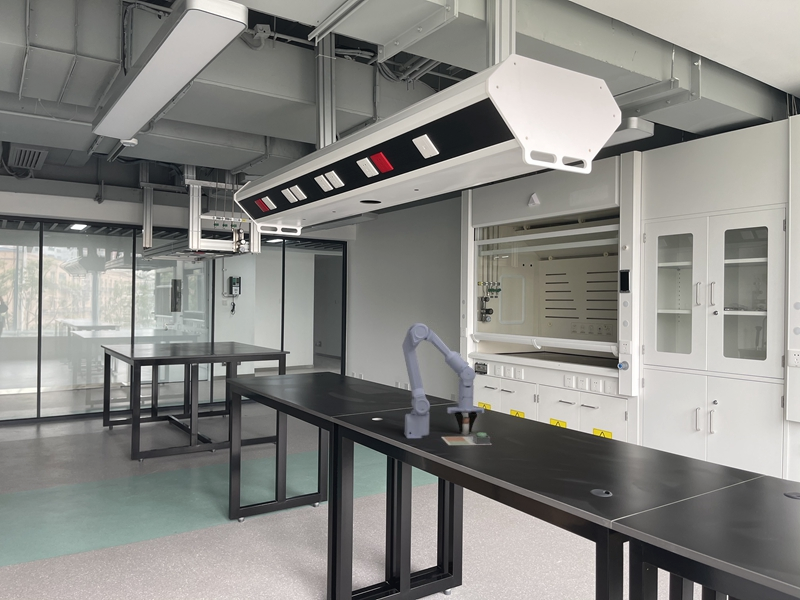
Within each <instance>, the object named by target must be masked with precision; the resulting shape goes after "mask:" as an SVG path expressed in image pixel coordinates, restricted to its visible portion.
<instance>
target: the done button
mask: <svg viewBox="0 0 800 600" xmlns="http://www.w3.org/2000/svg"><path fill="white" fill-rule="evenodd" d="M476 435H477V437H486V435H487V432H481V431H479V432H477V433H476Z"/></svg>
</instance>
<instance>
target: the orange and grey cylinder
mask: <svg viewBox="0 0 800 600" xmlns="http://www.w3.org/2000/svg"><path fill="white" fill-rule="evenodd" d="M469 423H470V418H469V417H468V416H463V422H462V432H460V434H461V435H469V434H470V432H469Z"/></svg>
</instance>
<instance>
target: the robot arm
mask: <svg viewBox="0 0 800 600" xmlns="http://www.w3.org/2000/svg"><path fill="white" fill-rule="evenodd" d="M422 341H426V342H429V343H431V344H432V345H433V346H434V347H435V348H436V349H437V350H438V351H439V352H440V353H441V354H442V355H443V356H444V362H445V363H446V364H447V365H448V366H449V367H450V368H451V370H453V372H454V373H456V374H457V377H458V378H459V379H458V380H459V383H458V406H455V407H454V406H452V407H447V408H446V413H447V414H454V416H455V419H456V422H457V425H458V430H459V432H460V433H461V432H462V422H463V417H464V415H463V414H467V417H469V418H470V423H469V433H472V430H473V426H474V423H475V421H476V419H477V418H478V414H485V408H484V407H483V406H482V407H479V406H478V407H476V406H474V387H475V386H474V380H475V378H476V372H475V369H474V368H473V367H471V366H470V365H469V362H468V361H465V360H464V358H463V357H461V356H462V355H461V353H460V352H457V351H456V350H453V351H452V350H450V348H449V347H448V346H447V345H446V344H445V343H444V342H443V340H442V339H441V338H440V337H439V336H438V335H437V334H436V333H435V332H434V331H433V330H432V329H431V328H428V326H427V325H426V324H424V323H421V322H415V323H413V324H412V325H410V326H409V328H408V329H407V333H406V334H405V337H404V340H403V342H402V344H401V345H402V352H403V355H404V359H405V361H404V362H405V365H406V369H407V370H406V371H407V375H408V376H407V377H408V380H409V386H410V391H411V401H410V403H411V404H410V405H411V407H412V410H411V411H410V413H406V414H405V415H404V433H403V434H404V436H405V437H406V439H424V437H423V436H428V435H430V408H431V404H430V402H429V400H428V399H427V397H426V394H425V390H424V385H423V380H422V376H421V371H420V368H419V363H418V357H417V352H416V348H417V347H418V346H419V344H420V343H421V342H422Z"/></svg>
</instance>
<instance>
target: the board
mask: <svg viewBox="0 0 800 600" xmlns="http://www.w3.org/2000/svg"><path fill="white" fill-rule="evenodd" d="M441 439H442V440H443V441H444V442H445V443H446V444H447V446H476V445H477V446H478V445H479V446H482V445H484V446H486V445H488V446H491V445H493V444H492V443H491V442H490V444H476V443H475V442H474V441H473V436H441Z"/></svg>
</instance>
